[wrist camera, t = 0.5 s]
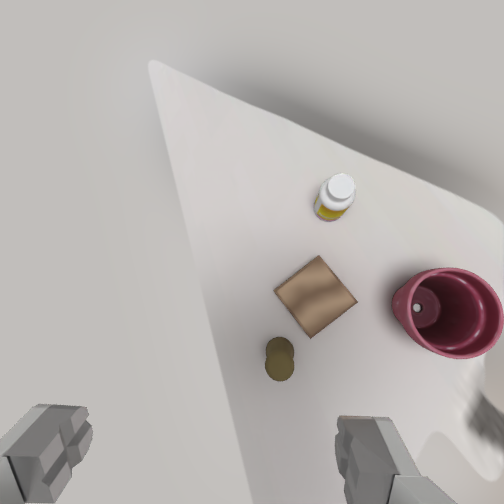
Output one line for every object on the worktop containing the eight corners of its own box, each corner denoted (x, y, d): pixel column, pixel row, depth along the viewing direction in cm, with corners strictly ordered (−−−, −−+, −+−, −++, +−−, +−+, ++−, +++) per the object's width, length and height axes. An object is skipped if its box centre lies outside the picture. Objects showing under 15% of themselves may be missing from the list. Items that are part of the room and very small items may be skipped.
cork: (259, 351, 55) (254, 367, 44) (279, 331, 55) (278, 342, 44) (280, 372, 54) (280, 394, 43) (300, 351, 54) (304, 368, 43)
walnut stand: (353, 301, 54) (359, 302, 50) (308, 335, 54) (310, 339, 51) (317, 256, 56) (319, 254, 52) (273, 290, 56) (273, 290, 53)
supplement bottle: (347, 218, 57) (366, 199, 44) (317, 225, 57) (327, 208, 44) (339, 190, 58) (355, 163, 45) (310, 197, 58) (318, 173, 45)
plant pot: (365, 289, 54) (390, 290, 42) (426, 259, 54) (471, 252, 41) (401, 353, 52) (439, 375, 39) (465, 323, 51) (525, 336, 39)
